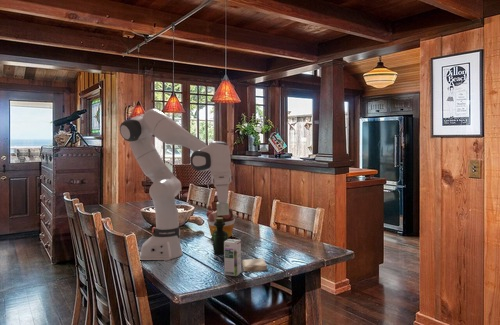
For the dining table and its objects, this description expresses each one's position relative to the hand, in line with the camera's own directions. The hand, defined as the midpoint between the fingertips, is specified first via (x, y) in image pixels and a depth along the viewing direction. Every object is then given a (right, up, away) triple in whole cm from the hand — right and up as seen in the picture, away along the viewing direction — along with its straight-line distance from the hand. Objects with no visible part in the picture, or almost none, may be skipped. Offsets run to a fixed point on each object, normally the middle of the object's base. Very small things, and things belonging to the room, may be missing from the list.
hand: (222, 210), depth 171 cm
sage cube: (0, -2, 0) cm, 2 cm away
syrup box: (+5, -27, -2) cm, 28 cm away
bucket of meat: (-5, -23, +62) cm, 66 cm away
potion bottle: (-3, -25, +28) cm, 38 cm away
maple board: (+14, -26, +6) cm, 30 cm away
